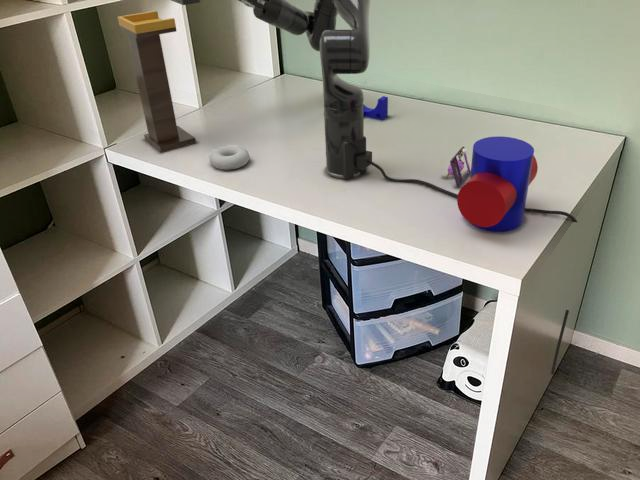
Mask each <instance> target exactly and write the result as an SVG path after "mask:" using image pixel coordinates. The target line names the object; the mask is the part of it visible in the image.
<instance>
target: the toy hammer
mask: <svg viewBox="0 0 640 480" xmlns="http://www.w3.org/2000/svg"><path fill="white" fill-rule="evenodd" d="M170 1H171V2H174V3H176V4H179V5H182V6H188V5H193V4H194V5H195V4H199V3H201V0H170Z"/></svg>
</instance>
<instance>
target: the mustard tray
mask: <svg viewBox="0 0 640 480" xmlns="http://www.w3.org/2000/svg"><path fill="white" fill-rule="evenodd" d="M117 21H118V26H119V25H120V26H122V27H124V28H126V29H128V30H130V31H132V32H133V33H135V34H139V33H145V32H151V31H156V30H162V29H168V28H174V27H176V28H177V26H176V19H175V18H174V17H170V18H165V19H163V18H160V17H159V12H158V10H152V11H146V12H139V13H133V14H127V15H120V16H117ZM120 26H119V27H120Z"/></svg>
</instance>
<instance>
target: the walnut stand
mask: <svg viewBox="0 0 640 480" xmlns="http://www.w3.org/2000/svg"><path fill="white" fill-rule="evenodd" d="M118 26H119V29H120V31H122V32H124V33H126V39H127V42H128V46H129V51H130V56H131V60H132V65H133V69H134V74H135V80H136V84H137V89H138V92H139V97H140V101H141V106H142V110H143V115H144V120H145V125H146V129H147V133H145V134H143V137H144V141H146V142H147V143H148V144H150V145H151V146H153V147H154V148H155V149H156V150H157V151H159V152H160V153H164V152H168V151H171V150H175V149H178V148H181V147H186V146H189V145H193V144H197V141H196V137H195V136H193V135H192V134H190V133H189V132H188V131H186V130H185V129H183V128H182V127H180V126H179V125H177V119H176V115H175V109H174V104H173V98H172V94H171V87H170V83H169V78H168V72H167V68H166V67H167V66H166V62H165V61H166V60H165V57H164V51H163V46H162V40H161V35H163V34H170V33H176V32H178V31H177V26H176V27H174V28H168V29H162V30H156V31H151V32H145V33H139V34H135V33H133V32H132V31H130V30H128V29H126V28H124V27H122V26H120V25H119V24H118Z"/></svg>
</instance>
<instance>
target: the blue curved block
mask: <svg viewBox="0 0 640 480" xmlns="http://www.w3.org/2000/svg"><path fill="white" fill-rule="evenodd" d="M388 113H389V97H388V96H386V95H385V96H384V95H383V96H381V97H379V98H377V103H376V105H375V108H371V107H368V106H366V105H365V104H364V117H365V118H370V119H373V120H374V119H375V120H379V121H384V120H385V119H387V118H388V115H389V114H388Z"/></svg>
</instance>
